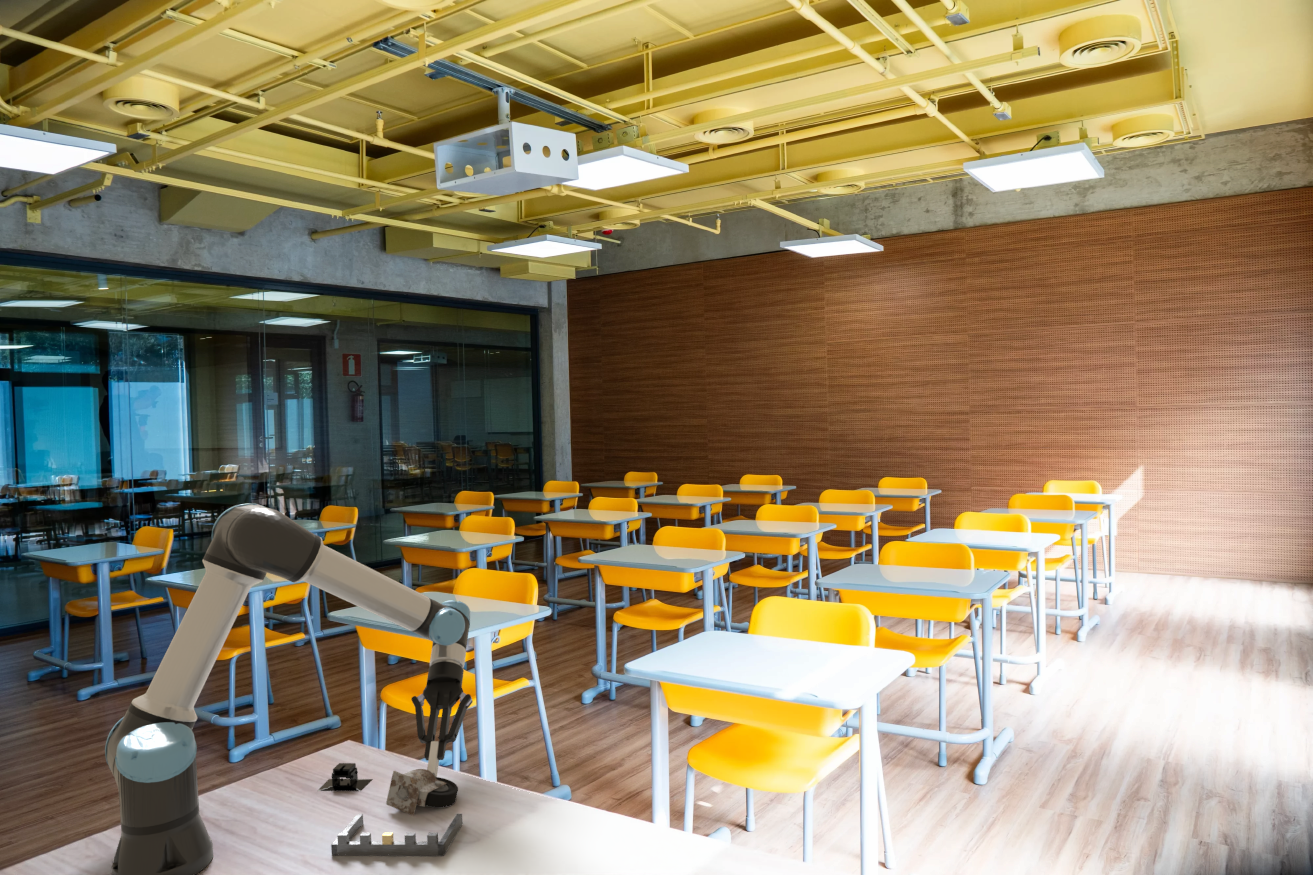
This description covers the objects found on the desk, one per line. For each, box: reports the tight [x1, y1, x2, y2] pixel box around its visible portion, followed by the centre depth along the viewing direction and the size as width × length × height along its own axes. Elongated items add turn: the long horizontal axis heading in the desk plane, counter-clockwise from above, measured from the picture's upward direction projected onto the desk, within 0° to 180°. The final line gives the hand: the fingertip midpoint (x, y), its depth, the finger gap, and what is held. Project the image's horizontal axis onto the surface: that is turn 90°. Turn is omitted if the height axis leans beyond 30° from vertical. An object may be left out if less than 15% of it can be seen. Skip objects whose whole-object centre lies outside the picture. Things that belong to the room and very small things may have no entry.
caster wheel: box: [385, 768, 459, 816], centre depth 166 cm, size 7×11×10 cm
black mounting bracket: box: [317, 762, 374, 792], centre depth 176 cm, size 12×7×5 cm, turn 85°
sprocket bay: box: [330, 813, 464, 857], centre depth 153 cm, size 20×11×4 cm, turn 86°
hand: (431, 775), depth 171 cm, fingers closed
